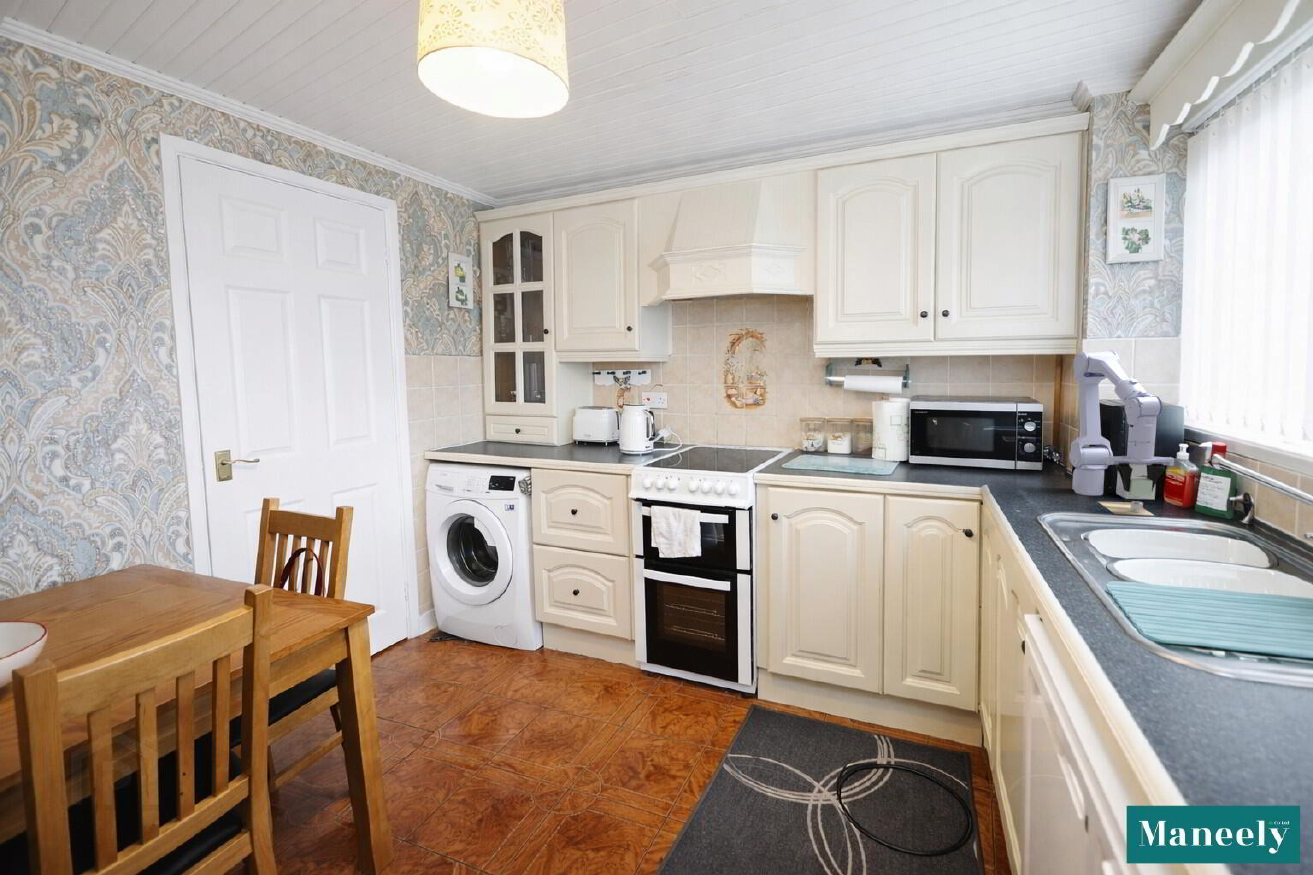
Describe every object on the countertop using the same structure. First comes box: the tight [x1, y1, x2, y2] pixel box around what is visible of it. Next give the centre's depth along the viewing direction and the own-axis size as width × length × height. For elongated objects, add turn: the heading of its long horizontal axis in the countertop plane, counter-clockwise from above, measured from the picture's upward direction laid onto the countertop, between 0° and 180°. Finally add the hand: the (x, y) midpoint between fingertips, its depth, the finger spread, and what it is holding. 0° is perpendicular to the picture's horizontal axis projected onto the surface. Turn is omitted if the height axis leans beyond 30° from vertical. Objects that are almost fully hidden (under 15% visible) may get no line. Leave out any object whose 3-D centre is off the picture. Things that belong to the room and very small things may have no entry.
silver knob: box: [1130, 500, 1144, 513], centre depth 172 cm, size 3×3×4 cm
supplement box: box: [1115, 462, 1157, 500], centre depth 188 cm, size 7×7×13 cm
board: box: [1097, 501, 1156, 517], centre depth 176 cm, size 14×9×1 cm, turn 162°
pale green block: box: [1125, 477, 1153, 496], centre depth 172 cm, size 5×5×4 cm
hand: (1137, 491), depth 172 cm, fingers closed on pale green block, 5 cm apart
